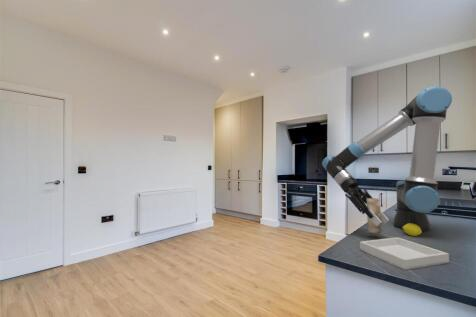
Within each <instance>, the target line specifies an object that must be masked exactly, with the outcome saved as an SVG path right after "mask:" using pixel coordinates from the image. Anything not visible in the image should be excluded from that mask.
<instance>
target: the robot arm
mask: <svg viewBox="0 0 476 317" xmlns="http://www.w3.org/2000/svg"><path fill="white" fill-rule="evenodd" d="M452 102H453V96H452V93H451V92H450V91H449V90H448V89H446V88H445V87H443V86H435V85H434V86H430V87H426V88H425V89H422V90H421V91H420V92H419V93H418V94H417V95H416V96H415V97H414V98H412V100H410V102H409V103H408V104H406V106H405V107H403V108H402V109H400V110H399V111H398V113H397V114H396V115H395V116H393V117H392V118H390V119H389V120H388V121H386V122H384V123H383V124H382V125H380V126H377V128H376V129H374V130H372V131H371V132H370V133H368V134H366V135H365V136H363V137H362V138H360V139H359V140H357V141H356V142H355V141H354V142H352V143H351V144H349V145H348V146H346V148H344V149H342V150H341V152H339V153H338V154H336V155H333V154H331V155H328V156H326V157H325V158H324V159H322V162H321V165H322V167H323V168H324V169H325V171H326V172H327V174H328V175H330V177H331V178H332V180H334V182H335V183H336V184H337V185H338V186H340V188H341V190H342V191H343V193H345V194H344V196H345V197H346V198H347V199H349V200H350V202H351V204H352V205H353V206H355V208H356V209H357V210H358V212H360V213H361V214H362V215H366V217H367V216H368V217H369V218H370V219H371V220H372V222H373V223H374V224H375V225H376V226H378V225H379V224H380V223H381V224H383V225H386V224H387V223H388V222H389V221H390V219H389V218H388V217H387V216H386V215H385V214H384V213H383V211H381V210H382V209H380V214H381V221H380V219H379V218H378V217H377V216H376V215H375V214H374V213H373V211H372V210H371V209H368V207H367V198H373V197H372V195H371V194H370V193H369V191H368V189H365V188H364V189H362V188H361V187H359V182H358V181H357V179H356V178H355V177H354V176H353V175H352V174H351V173H350V172H349V171H348V170H347V168H348V167H350V165H351V164H353V163H355V162H356V161H357V160H359V159H361V158H362V157H363V156H364V155H365V154H367V153H369V152H371V151H372V150H374V149H375V148H377V147H379V146H380V145H381V144H383V143H384V142H386V141H388V140H389V139H391V138H392V137H394V136H395V135H397V134H398V133H400V132H401V131H403V130H405V129H406V128H408V127H413V126H414V125H415V127H414V135H413V137H414V138H413V145H412V154H411V159H410V160H411V162H410V168H409V175H408V176H407V177H406V178H405V179H404V180H398V181H397V182H396V184H395V185H396V186H395V188H396V213H395V216H394V219H393V220H392V222H393V223H392V224H393V227H395V228H397V229H401V230H404V229H403V228H402V227H403V226H404V225H406V224H408V223H413V224H416V225H417V226H419V227H420V229H421V231H422V232H429V231H431V230H432V225H431V223H430V220H429V217H428V215H427V213H430V212H432V211H434V210H436V209H437V207H438V206H439V204H440V199H441V198H440V195H439V194H438V185H439V184H438V181H436V180H435V170H436V162H437V155H438V144H439V140H440V139H439V137H440V131H441V130H440V129H441V124H442V123H443V122H444V121H446V119H447V112H448V108H450V106H451V104H452Z"/></svg>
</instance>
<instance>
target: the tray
mask: <svg viewBox="0 0 476 317" xmlns="http://www.w3.org/2000/svg"><path fill="white" fill-rule="evenodd" d="M359 250H360V251H362V252H364V253H366V254H368V255H371V256H373V257H375V258H378V259H379V260H382V261H384V262H386V263H388V264H391V265H392V266H395V267H397V268H400V269H401V270H404V271H408V270H414V269H420V268H421V269H422V268H427V267H432V266H434V267H435V266H441V265H444V264H449V263H450V254H449V253H448V252H446V251H445V252H444V251H442V250H439V249H435V248H433V247H429V246H427V245H423V244H420V243H417V242H413V241H412V240H411V241H410V240H408V239H404V238H402V237H399V236H398V237H388V238H381V239H379V238H378V239H372V240H364V241H363V240H362V241H359Z"/></svg>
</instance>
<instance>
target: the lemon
mask: <svg viewBox="0 0 476 317" xmlns="http://www.w3.org/2000/svg"><path fill="white" fill-rule="evenodd" d="M402 228H403V229H402V230H403V231H404V232H405V233H406V234H407V235H409V236H411V237H419V235H420V234H422V233H423V231H421V229H420V227H419V226H417V225H416V224H413V223H408V224H406V225H404V226H403V227H402Z"/></svg>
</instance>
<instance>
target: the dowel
mask: <svg viewBox="0 0 476 317" xmlns="http://www.w3.org/2000/svg"><path fill="white" fill-rule="evenodd" d="M366 206H367V207H368V209H371V210H372V211H373V213H374V214H375V215H376V216H377V217H378V218H379V219H380V221H381V214H380V210H381V199H380V198H376V197H375V198H374V197H372V198H367V204H366ZM366 217H367V218H366V219H367V232H368V233H370V234H371V233H372V234H381V233H382V223H380V224H379V225H378V226H376V225H375V224H374V223H373V222H372V220H371V219H370V218H369V217H368V216H367V215H366ZM381 222H382V221H381Z"/></svg>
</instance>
